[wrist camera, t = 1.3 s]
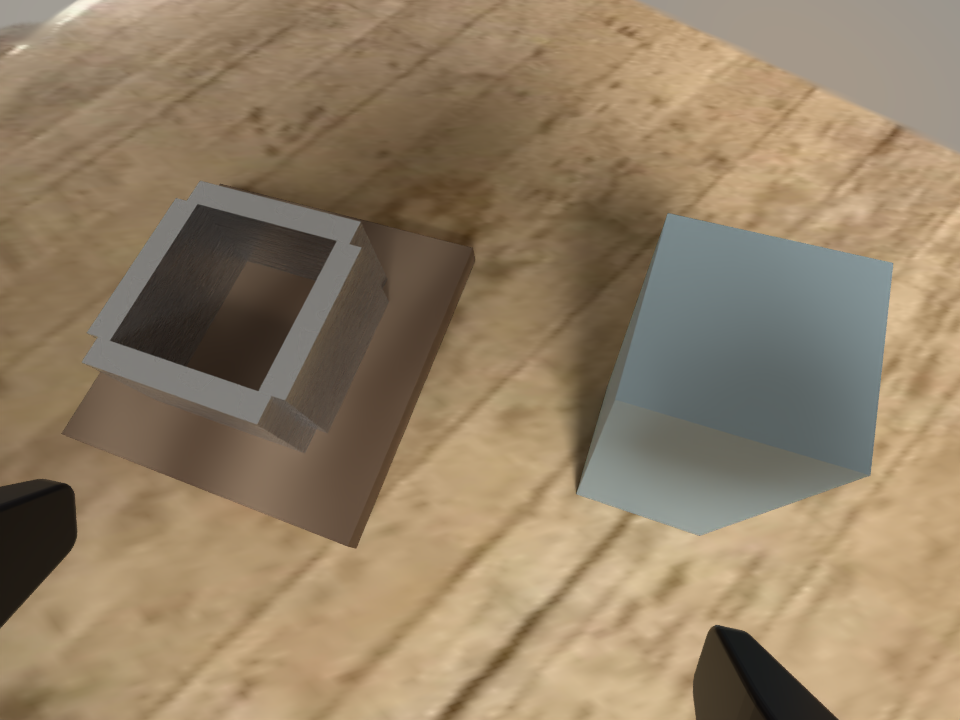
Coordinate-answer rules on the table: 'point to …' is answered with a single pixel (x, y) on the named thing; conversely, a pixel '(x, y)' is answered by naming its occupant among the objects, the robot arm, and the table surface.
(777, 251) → the light blue pillar
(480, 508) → the table surface
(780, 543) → the table surface
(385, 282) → the docking socket
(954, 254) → the table surface
